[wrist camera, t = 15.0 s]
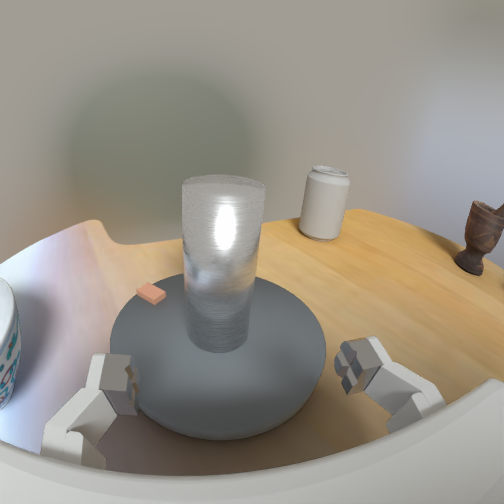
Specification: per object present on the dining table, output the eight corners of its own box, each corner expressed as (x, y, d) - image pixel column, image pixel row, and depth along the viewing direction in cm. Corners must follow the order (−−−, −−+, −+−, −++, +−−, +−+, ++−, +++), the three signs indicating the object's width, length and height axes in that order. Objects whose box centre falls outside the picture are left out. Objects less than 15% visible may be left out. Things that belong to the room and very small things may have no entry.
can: (289, 228, 50) (299, 163, 44) (318, 223, 54) (329, 163, 48) (317, 246, 45) (332, 175, 39) (346, 239, 48) (361, 175, 42)
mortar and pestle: (496, 278, 41) (528, 191, 31) (492, 291, 37) (529, 192, 27) (458, 253, 49) (484, 169, 40) (448, 262, 45) (478, 166, 35)
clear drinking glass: (228, 362, 19) (238, 204, 13) (175, 334, 21) (164, 186, 15) (258, 324, 23) (278, 184, 17) (210, 303, 25) (214, 171, 19)
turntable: (341, 323, 27) (348, 304, 26) (263, 483, 13) (269, 474, 11) (196, 268, 34) (196, 249, 32) (77, 355, 19) (68, 334, 18)
